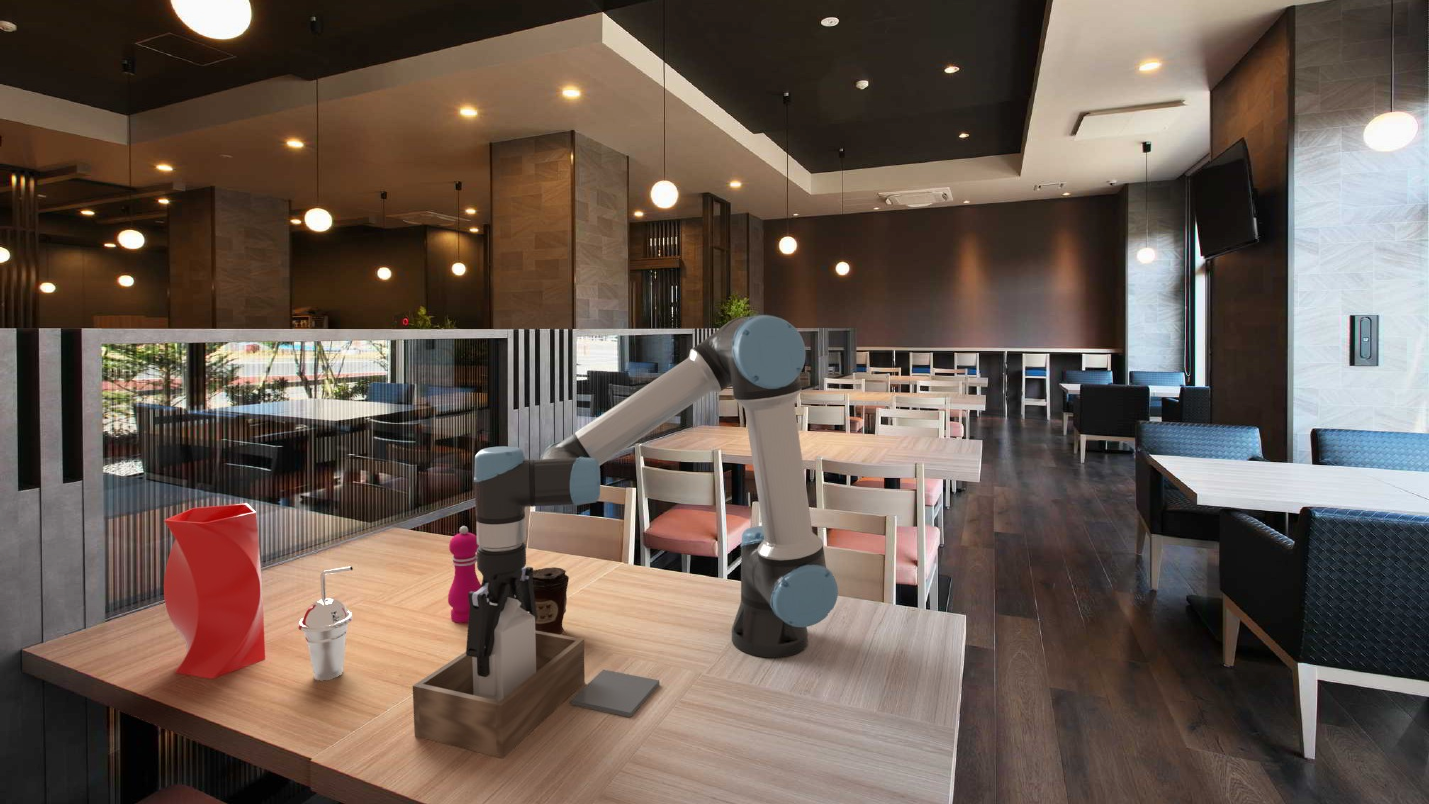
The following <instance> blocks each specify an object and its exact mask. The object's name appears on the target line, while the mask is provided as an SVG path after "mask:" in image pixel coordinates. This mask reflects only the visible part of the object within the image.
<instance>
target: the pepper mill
mask: <svg viewBox="0 0 1429 804" xmlns="http://www.w3.org/2000/svg"><path fill="white" fill-rule="evenodd" d="M458 531H459V533H456V534H455V535H454V536H453V537H451V539H450V540H449V545H448V546H449V547H448V549H449V552H450V553H451V554H452V555H453V556H452V557H451V559H452V562H451V563H452V565H454V575H453V576H454V577H453V580H452V583H451V586H450V588H449V590H448V595H447V603H448V606H450V607H451V608H452V609H451V611H450V619H451V621H452V622H454V623H459V624H462V623H463V624H465V623H466V624H467V623H468V622H469V610H470V606H469V600H468V594H469V592H471V591H472V592H477V591H478V590H479V589H480V588H481V584H482V583H481V582H480V581H479V577H478V575H477V572H476V564H477V548H478V547H479V545H478V544H477V535H475V534H473V533H471V532H469V528H468V527H467V526H465V525H462V526H461V527H459V530H458Z"/></svg>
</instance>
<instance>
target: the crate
mask: <svg viewBox="0 0 1429 804" xmlns="http://www.w3.org/2000/svg"><path fill="white" fill-rule="evenodd" d="M535 639H536V673H535V674H533V675H532V676H531V677H529V678H528V679H527V680H526V681H524V682H523V683H522V684H521V685H519V686H518V687H517V688H516V689H514V690H513V691H512V692H511V693H509V694H508V695H507V696H506V697H504V698H503V699H502V700H501V701H497V700H493V699H488V698H484V697H479V696H475V695H473V664H472V656H467V655H466V651H465V652H463V653H461V654H460V655H458V656H457V657H455V658H454V659H452V660H450V661H449V662H447V663H446V664H444V665H443V666H441V667H440V668H438V669H437V670H435V671H434V672H432V673H430V674H428V675H427V676H426V677H424V678H423V679H421V680H420V681H418V682H416V683H415V684H414V685H412V701H413V702H412V703H413V725H414V726H413V728H414V730H413V731H414V736H415V737H418V738H422V739H425V740H430V741H434V742H438V743H441V744H445V745H449V746H453V747H458V748H461V749H464V750H469V751H473V752H477V753H479V754H484V755H488V756H490V757H491V756H492V757H495V758H500V759H504V758H505V757H506V756H507V755H508V754H509V753H510V752H511V751H512V750H514V749H515V748H516V747H517V746H518V745H519V744H521V742H522V741H523V740H524V739H526V738H527V736H529V735H530V734H531V733H532V732H533V731H534V730H535V729H537V727H538V726H540V725H541V724H542V723H543V722H544V721H545V720H546V719H547V718H548V717H549V716H550V715H551V714H552V713H553V712H555V710H557V709H558V708H559V707H560V706H561V705H563V704H564V702H566V701H567V700H568V699H570V698H569V697H571V696H572V695H573V694H575V693H576V691H577V690H578V689H580V688H581V687H582V686H583V685H584V684H585V682H586V681H585V677H586V676H585V639H584V638H581V637H574V636H569V635H564V634H563V635H558V634H553V633H547V632H542V631H536V630H535Z"/></svg>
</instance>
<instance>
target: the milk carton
mask: <svg viewBox="0 0 1429 804" xmlns="http://www.w3.org/2000/svg"><path fill="white" fill-rule="evenodd" d="M490 604H491V605H496V606H497V605H498V604H495V603H491V602H490ZM520 605H521V602H519V600H517V599H514V598H510V597H507V601H506V602H505V606H504V610H503V611H502V612H501V613H500V617H499V621H498V624H497V626H496V628H495V630H494V639H495V640H494V644H493V649H492V653H494V654H496V687H497V693H496V694H495V695H494V696H493V695H489V694H484V693H480V692H479V676H478V674H477V657H472V664H473V695H475V696H479V697H484V698H488V699H493V700H497V701H501V700H502V699H503V698H504V697H506V696H507V695H508V694H509V693H511V692H512V691H513V690H514V689H516V688H517V687H518V686H519V685H521V684H522V683H523V682H524V681H526V680H527V679H528V678H529V677H531V676H532V675H533V674H535V673H536V639H535V617H534V616H533V615H531V614H530V613H529V612H527V611H525V610H523V609H522V608H520Z"/></svg>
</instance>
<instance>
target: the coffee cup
mask: <svg viewBox="0 0 1429 804" xmlns="http://www.w3.org/2000/svg"><path fill="white" fill-rule="evenodd" d="M566 573H567V571H566V570H565V569H564V568H561V567H543V568H540V569H533V580H532V581H533V588H534V596H535V604H536V611H537V620H536V621H535V630H536V631H542V632H547V633H553V634H558V635H564V633H565V629H564V627H563V621H564V616H565V614H566V612H567V602H568V600H567V599H568V597H567V590H568V586H569V585H568V584H569V579H570V578H569V575H567V574H566ZM528 613H530V612H528Z"/></svg>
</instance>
